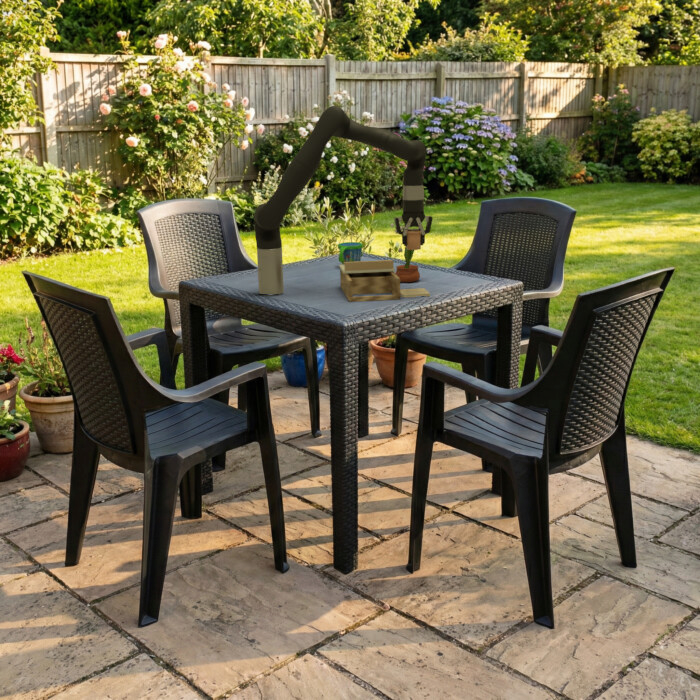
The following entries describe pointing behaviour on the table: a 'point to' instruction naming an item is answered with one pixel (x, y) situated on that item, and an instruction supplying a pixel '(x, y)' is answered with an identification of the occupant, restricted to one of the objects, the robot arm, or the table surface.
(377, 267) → the lid
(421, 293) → the stone tile
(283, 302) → the table surface
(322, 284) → the table surface
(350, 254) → the snack cup
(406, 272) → the potted flower
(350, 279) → the open wooden frame
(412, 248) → the clay pot
